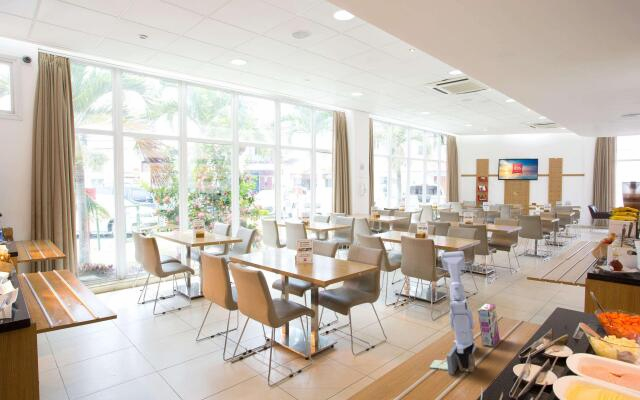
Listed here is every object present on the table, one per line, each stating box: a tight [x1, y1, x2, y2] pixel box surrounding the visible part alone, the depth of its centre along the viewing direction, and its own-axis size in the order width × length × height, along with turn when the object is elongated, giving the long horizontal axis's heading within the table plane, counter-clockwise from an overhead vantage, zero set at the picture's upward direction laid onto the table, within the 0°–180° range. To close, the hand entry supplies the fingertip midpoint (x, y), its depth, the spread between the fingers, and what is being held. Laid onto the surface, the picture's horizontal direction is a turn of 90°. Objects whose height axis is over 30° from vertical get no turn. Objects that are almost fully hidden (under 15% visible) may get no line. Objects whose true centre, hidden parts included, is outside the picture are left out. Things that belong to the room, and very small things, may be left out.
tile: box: [429, 359, 448, 371], centre depth 154 cm, size 8×8×1 cm
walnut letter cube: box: [458, 353, 476, 373], centre depth 148 cm, size 5×5×5 cm
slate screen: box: [446, 343, 459, 376], centre depth 151 cm, size 14×2×7 cm, turn 147°
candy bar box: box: [477, 303, 500, 347], centre depth 172 cm, size 11×5×16 cm, turn 141°
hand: (467, 365), depth 148 cm, fingers closed on walnut letter cube, 5 cm apart
